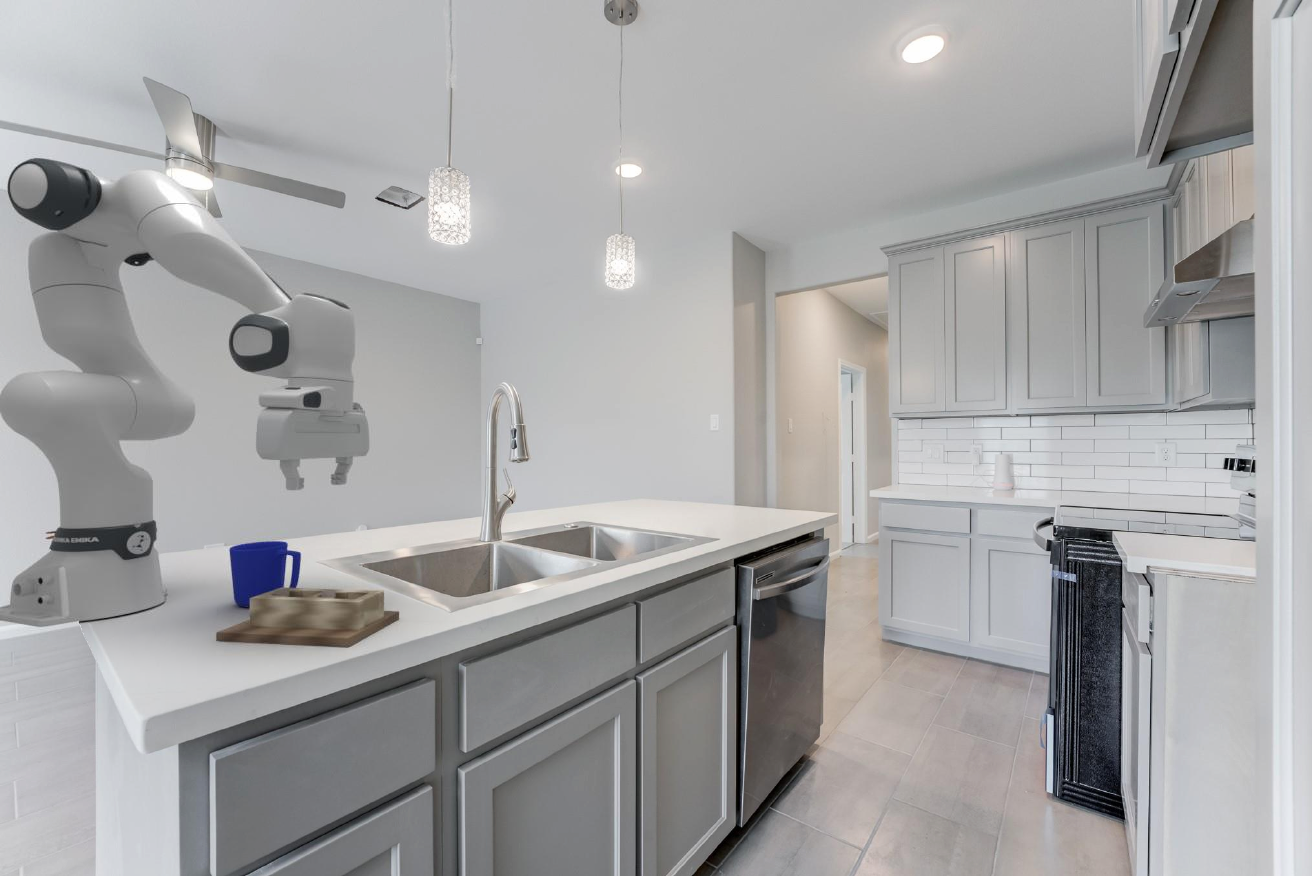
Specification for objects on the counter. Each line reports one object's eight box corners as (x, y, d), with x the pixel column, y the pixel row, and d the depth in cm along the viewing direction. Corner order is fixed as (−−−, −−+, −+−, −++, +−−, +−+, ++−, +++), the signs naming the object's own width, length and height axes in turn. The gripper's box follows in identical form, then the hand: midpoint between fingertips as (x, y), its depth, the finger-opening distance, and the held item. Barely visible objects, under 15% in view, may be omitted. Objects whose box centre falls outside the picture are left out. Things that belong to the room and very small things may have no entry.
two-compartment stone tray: (249, 625, 81) (249, 598, 81) (282, 613, 87) (282, 587, 87) (358, 630, 79) (358, 602, 79) (384, 617, 85) (384, 590, 85)
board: (216, 640, 79) (216, 600, 79) (283, 614, 90) (283, 579, 90) (348, 647, 76) (348, 605, 76) (399, 619, 88) (399, 582, 88)
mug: (277, 613, 91) (277, 551, 91) (216, 608, 93) (216, 549, 93) (317, 599, 99) (317, 542, 99) (260, 595, 101) (260, 540, 101)
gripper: (347, 402, 99) (344, 481, 99) (248, 393, 78) (245, 492, 78) (380, 403, 98) (377, 482, 98) (289, 394, 77) (285, 494, 78)
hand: (317, 487), depth 88 cm, fingers open, 8 cm apart
